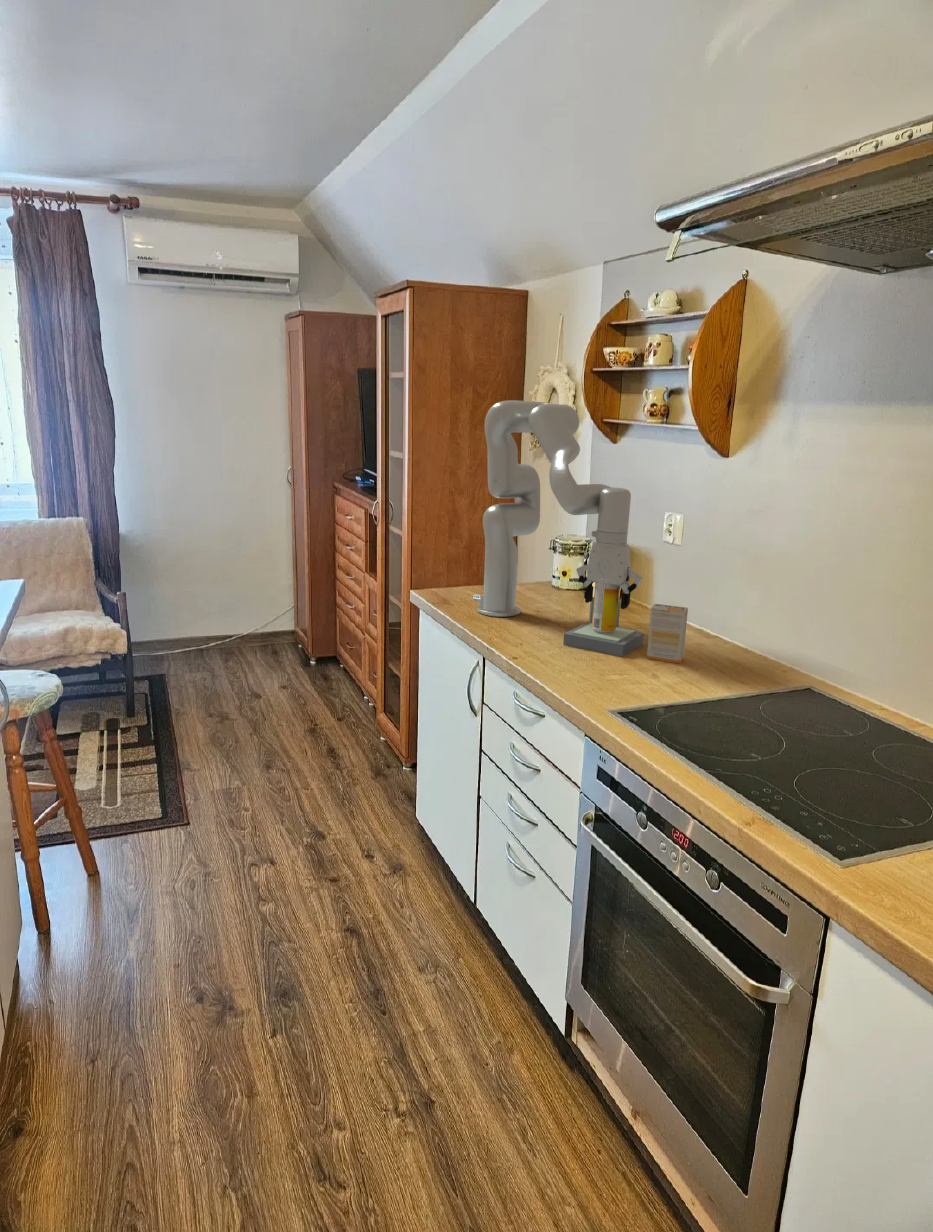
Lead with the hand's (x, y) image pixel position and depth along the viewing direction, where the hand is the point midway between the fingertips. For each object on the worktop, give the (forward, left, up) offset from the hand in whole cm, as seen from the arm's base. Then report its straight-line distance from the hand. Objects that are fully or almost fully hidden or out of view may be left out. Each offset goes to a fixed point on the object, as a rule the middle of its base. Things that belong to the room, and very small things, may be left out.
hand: (606, 604), depth 207 cm
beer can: (0, 0, -7) cm, 7 cm away
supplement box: (+17, -2, -11) cm, 20 cm away
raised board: (0, 0, -10) cm, 10 cm away
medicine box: (-6, +14, -11) cm, 19 cm away
